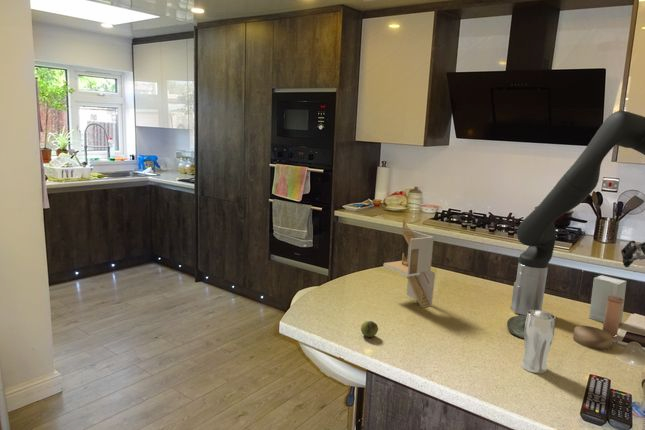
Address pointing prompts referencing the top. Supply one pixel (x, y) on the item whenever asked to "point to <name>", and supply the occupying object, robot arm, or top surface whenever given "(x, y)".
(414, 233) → the staircase
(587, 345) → the base
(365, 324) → the lime
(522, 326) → the lid
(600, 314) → the skincare box
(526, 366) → the beer glass
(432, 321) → the top surface
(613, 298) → the pink drinking glass
